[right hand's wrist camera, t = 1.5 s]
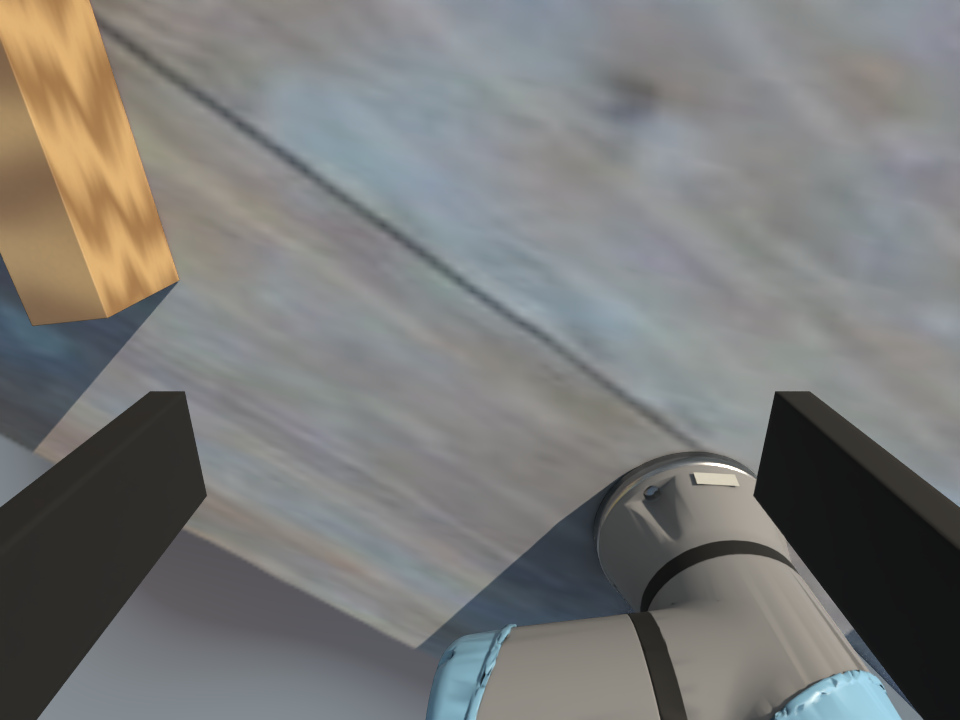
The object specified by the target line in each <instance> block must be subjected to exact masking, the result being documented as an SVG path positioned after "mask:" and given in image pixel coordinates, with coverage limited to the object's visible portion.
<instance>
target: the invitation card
mask: <svg viewBox="0 0 960 720" xmlns="http://www.w3.org/2000/svg"><path fill="white" fill-rule="evenodd" d="M855 652H856V651H855ZM856 653H857V652H856ZM857 654H858V653H857ZM858 656H859V657H860V659H861V660H862V661H863V663H864V664H865V665H866V667H867V668H868V670H869V671H870V672H871V674H873V675H874V676H876V677H877V678H878V679H879V680H880V682H881V683H882V684H883V686H884V689H885V690H886V692H887V696H888V698H889V700H890V701H891V703H892V704H893V706H894V708H895V709H896V711H897V713H898V714H899V716H900V718H901V719H902V720H923V719H922V717H921V716H920V715H919V714H918V713H917V712H916V711H915V710H914V709H913V708H912V707H911V706H910V705H909V704H908V703H907V702H906V701H905V700H904V699H903V698H902V697H901V696H900V695H899V694H898V693H897V692H896V691H895V690H894V689H893V688H892V687H891V686H890V685H889V684H888V683H887V682H886V681H885V680H884V679H883V678H882V677H881V676H880V675H879V674H878V673H877V672H876V671H875V670H874V669H873V668H872V667H871V666H870V665H869V664H868V663H867V662H866V661H865V660H864V659H863V658H862V657H861V656H860V655H859V654H858Z"/></svg>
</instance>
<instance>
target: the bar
mask: <svg viewBox="0 0 960 720" xmlns="http://www.w3.org/2000/svg"><path fill="white" fill-rule="evenodd" d="M0 254H1V256H2V258H3V260H4V263H5V265H6V267H7V270H8V272H9V274H10V276H11V279H12V281H13V283H14V286H15V288H16V290H17V292H18V295H19V297H20V299H21V301H22V304H23V306H24V308H25V311H26V313H27V315H28V317H29V320H30V322H31V324H32V326H38V325H48V324H57V323H66V322H76V321H85V320H95V319H104V318H109V317H111V316H113V315H114V314H116V313H118V312H120V311H122V310H124V309H126V308H128V307H130V306H132V305H134V304H135V303H137V302H139V301H141V300H143V299H145V298H147V297H149V296H151V295H153V294H155V293H156V292H158V291H160V290H162V289H164V288H166V287H168V286H170V285H172V284H174V283H176V282H177V281H179V278H178V274H177V271H176V268H175V265H174V262H173V259H172V256H171V253H170V250H169V246H168V243H167V240H166V237H165V234H164V231H163V228H162V225H161V222H160V219H159V215H158V212H157V209H156V206H155V203H154V200H153V197H152V194H151V191H150V187H149V184H148V181H147V178H146V175H145V172H144V169H143V166H142V163H141V159H140V156H139V153H138V150H137V147H136V144H135V141H134V138H133V135H132V132H131V128H130V125H129V122H128V119H127V116H126V113H125V110H124V107H123V104H122V100H121V97H120V94H119V91H118V88H117V85H116V82H115V79H114V76H113V72H112V69H111V66H110V63H109V60H108V57H107V54H106V51H105V48H104V45H103V41H102V38H101V35H100V32H99V29H98V26H97V23H96V20H95V17H94V13H93V10H92V7H91V4H90V1H89V0H0Z"/></svg>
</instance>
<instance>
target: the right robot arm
mask: <svg viewBox="0 0 960 720" xmlns="http://www.w3.org/2000/svg"><path fill="white" fill-rule="evenodd" d="M206 496H207V494H206V489H205V485H204V480H203V475H202V471H201V466H200V461H199V456H198V452H197V447H196V442H195V438H194V433H193V428H192V423H191V419H190V414H189V409H188V405H187V400H186V395H185V391H150V392H149V393H148V394H146V395H145V396H144V397H142V398H141V399H140V400H139V401H137V402H136V403H135V404H133V405H132V406H131V407H130V408H128V409H127V410H126V411H124V412H123V413H122V414H120V415H119V416H118V417H117V418H115V419H114V420H113V421H111V422H110V423H109V424H108V425H106V426H105V427H104V428H102V429H101V430H100V431H98V432H97V433H96V434H95V435H93V436H92V437H91V438H89V439H88V440H87V441H86V442H84V443H83V444H82V445H80V446H79V447H78V448H77V449H75V450H74V451H73V452H71V453H70V454H69V455H67V456H66V457H65V458H64V459H62V460H61V461H60V462H58V463H57V464H56V465H55V466H53V467H52V468H51V469H49V470H48V471H47V472H45V473H44V474H43V475H42V476H40V477H39V478H38V479H36V480H35V481H34V482H33V483H31V484H30V485H29V486H27V487H26V488H25V489H24V490H22V491H21V492H20V493H18V494H17V495H16V496H15V497H13V498H12V499H11V500H9V501H8V502H7V503H5V504H4V505H3V506H2V507H0V720H37V719H38V717H39V716H40V715H41V713H42V712H43V711H44V709H45V708H46V707H47V705H48V704H49V703H50V701H51V700H52V699H53V698H54V696H55V695H56V694H57V692H58V691H59V690H60V688H61V687H62V686H63V684H64V683H65V682H66V680H67V679H68V678H69V676H70V675H71V674H72V673H73V671H74V670H75V669H76V667H77V666H78V665H79V663H80V662H81V661H82V659H83V658H84V657H85V655H86V654H87V653H88V652H89V650H90V649H91V648H92V646H93V645H94V644H95V642H96V641H97V640H98V638H99V637H100V636H101V634H102V633H103V632H104V630H105V629H106V628H107V627H108V625H109V624H110V623H111V621H112V620H113V619H114V617H115V616H116V615H117V613H118V612H119V611H120V609H121V608H122V607H123V605H124V604H125V603H126V602H127V600H128V599H129V598H130V596H131V595H132V594H133V592H134V591H135V590H136V588H137V587H138V586H139V584H140V583H141V582H142V580H143V579H144V578H145V576H146V575H147V574H148V573H149V571H150V570H151V569H152V567H153V566H154V565H155V563H156V562H157V561H158V559H159V558H160V557H161V555H162V554H163V553H164V552H165V550H166V549H167V548H168V546H169V545H170V544H171V542H172V541H173V540H174V538H175V537H176V536H177V534H178V533H179V532H180V530H181V529H182V528H183V527H184V525H185V524H186V523H187V521H188V520H189V519H190V517H191V516H192V515H193V513H194V512H195V511H196V509H197V508H198V507H199V505H200V504H201V503H202V502H203V500H204V499H205V498H206ZM785 538H786V539H785ZM786 540H787V541H788V542H789V544H790V545H791V546H792V548H793V549H794V550H795V552H796V553H797V554H798V555H799V557H800V558H801V559H802V561H803V562H804V563H805V565H806V566H807V567H808V569H809V570H810V571H811V573H812V574H813V575H814V577H815V578H816V579H817V580H818V582H819V583H820V584H821V586H822V587H823V588H824V590H825V591H826V592H827V594H828V595H829V596H830V598H831V599H832V600H833V602H834V603H835V604H836V605H837V607H838V608H839V609H840V611H841V612H842V613H843V615H844V616H845V617H846V619H847V620H848V621H849V623H850V624H851V625H852V627H853V628H854V629H855V630H856V632H857V633H858V634H859V636H860V637H861V638H862V640H863V641H864V642H865V644H866V645H867V646H868V648H869V649H870V650H871V652H872V653H873V654H874V655H875V657H876V658H877V659H878V661H879V662H880V663H881V665H882V666H883V667H884V669H885V670H886V671H887V673H888V674H889V675H890V677H891V678H892V679H893V680H894V682H895V683H896V684H897V686H898V687H899V688H900V690H901V691H902V692H903V694H904V695H905V696H906V698H907V699H908V700H909V701H910V703H911V704H912V705H913V707H914V708H915V709H916V711H917V712H918V713H919V715H920V716H921V717H922V719H923V720H960V507H958V506H957V505H956V504H955V503H953V502H952V501H951V500H949V499H948V498H947V497H946V496H944V495H943V494H942V493H940V492H939V491H938V490H936V489H935V488H934V487H933V486H931V485H930V484H929V483H927V482H926V481H925V480H924V479H922V478H921V477H920V476H918V475H917V474H916V473H915V472H913V471H912V470H911V469H909V468H908V467H907V466H905V465H904V464H903V463H902V462H900V461H899V460H898V459H896V458H895V457H894V456H893V455H891V454H890V453H889V452H887V451H886V450H885V449H883V448H882V447H881V446H880V445H878V444H877V443H876V442H874V441H873V440H872V439H871V438H869V437H868V436H867V435H865V434H864V433H863V432H861V431H860V430H859V429H858V428H856V427H855V426H854V425H852V424H851V423H850V422H849V421H847V420H846V419H845V418H843V417H842V416H841V415H840V414H838V413H837V412H836V411H834V410H833V409H832V408H830V407H829V406H828V405H827V404H825V403H824V402H823V401H821V400H820V399H819V398H818V397H816V396H815V395H814V394H812V393H811V392H810V391H775V395H774V400H773V405H772V409H771V414H770V419H769V423H768V428H767V433H766V438H765V442H764V447H763V452H762V456H761V461H760V466H759V471H758V475H757V476H756V475H755V474H754V473H753V472H752V471H750V470H749V469H748V468H747V467H745V466H744V465H742V464H741V463H739V462H737V461H735V460H733V459H730V458H728V457H725V456H721V455H718V454H713V453H706V452H683V453H676V454H670V455H666V456H662V457H659V458H656V459H654V460H651V461H649V462H646V463H644V464H642V465H641V466H639V467H637V468H635V469H634V470H632V471H631V472H629V473H628V474H626V475H625V476H624V477H623V478H621V479H620V480H619V481H618V482H617V483H616V484H615V485H614V486H613V487H612V488H611V490H610V491H609V492H608V493H607V495H606V496H605V498H604V499H603V501H602V503H601V505H600V507H599V509H598V512H597V515H596V518H595V522H594V543H595V547H596V551H597V554H598V558H599V562H600V565H601V568H602V570H603V572H604V574H605V576H606V577H607V579H608V580H609V581H610V583H611V584H612V585H613V586H614V587H615V588H616V589H617V590H618V591H619V592H620V593H621V594H622V595H623V597H624V598H625V600H626V601H627V602H628V604H629V605H630V606H631V608H632V609H633V610H634V611H635V613H631V614H621V615H613V616H606V617H597V618H588V619H580V620H571V621H562V622H553V623H545V624H536V625H527V626H519V627H517V625H516V624H508V625H506V626H505V627H504V628H503V629H498V630H492V631H487V632H481V633H475V634H469V635H465V636H462V637H460V638H458V639H456V640H455V641H454V642H453V643H452V644H451V645H450V646H449V647H448V648H447V649H446V651H445V652H444V654H443V655H442V657H441V659H440V662H439V664H438V667H437V671H436V673H435V676H434V680H433V684H432V688H431V692H430V697H429V702H428V708H427V714H426V720H902V719H901V718H900V716H899V714H898V713H897V711H896V709H895V708H894V706H893V704H892V703H891V701H890V700H889V698H888V696H887V692H886V690H885V689H884V686H883V684H882V683H881V682H880V680H879V679H878V678H877V677H876V676H874V675H873V674H871V672H870V671H869V670H868V668H867V667H866V665H865V664H864V663H863V661H862V660H861V659H860V657H859V656H858V654H857V653H856V652H855V650H854V649H853V648H852V646H851V645H850V643H849V642H848V641H847V639H846V638H845V637H844V635H843V634H842V632H841V631H840V630H839V628H838V627H837V625H836V624H835V623H834V621H833V620H832V619H831V617H830V616H829V614H828V613H827V612H826V610H825V609H824V608H823V606H822V605H821V603H820V602H819V601H818V599H817V598H816V597H815V595H814V594H813V592H812V591H811V590H810V588H809V587H808V586H807V584H806V583H805V581H804V580H803V579H802V578H801V576H800V575H799V573H798V572H797V571H796V569H795V568H794V566H793V565H792V563H791V560H790V556H789V552H788V548H787V544H786Z"/></svg>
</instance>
